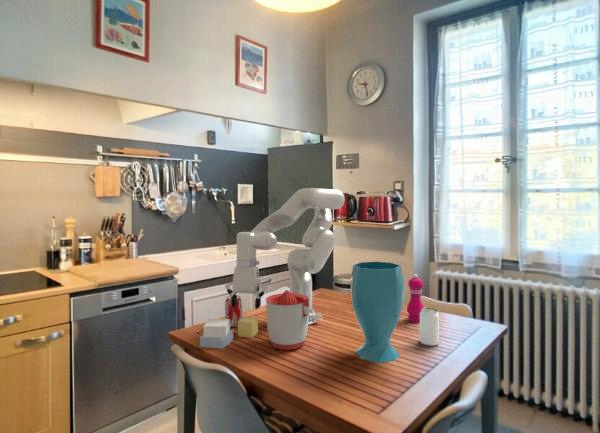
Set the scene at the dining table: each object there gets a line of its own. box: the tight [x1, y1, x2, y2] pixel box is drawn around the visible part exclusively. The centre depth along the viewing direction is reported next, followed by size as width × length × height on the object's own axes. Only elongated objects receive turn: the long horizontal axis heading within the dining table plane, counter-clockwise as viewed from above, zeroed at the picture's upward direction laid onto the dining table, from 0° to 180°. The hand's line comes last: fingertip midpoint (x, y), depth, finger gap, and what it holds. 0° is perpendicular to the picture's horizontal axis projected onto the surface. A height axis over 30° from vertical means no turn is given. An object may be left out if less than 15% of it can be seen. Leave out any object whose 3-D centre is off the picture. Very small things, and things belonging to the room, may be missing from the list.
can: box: [419, 307, 440, 347], centre depth 132 cm, size 6×6×12 cm
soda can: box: [224, 294, 243, 328], centre depth 155 cm, size 7×7×12 cm
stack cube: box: [237, 316, 259, 339], centre depth 144 cm, size 6×6×6 cm
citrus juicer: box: [265, 289, 314, 351], centre depth 132 cm, size 16×17×20 cm
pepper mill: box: [406, 273, 425, 323], centre depth 157 cm, size 7×7×20 cm
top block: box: [203, 318, 231, 337], centre depth 135 cm, size 8×8×4 cm
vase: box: [350, 261, 405, 364], centre depth 123 cm, size 17×17×30 cm
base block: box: [199, 329, 234, 350], centre depth 135 cm, size 9×9×4 cm
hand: (245, 307), depth 143 cm, fingers open, 9 cm apart
